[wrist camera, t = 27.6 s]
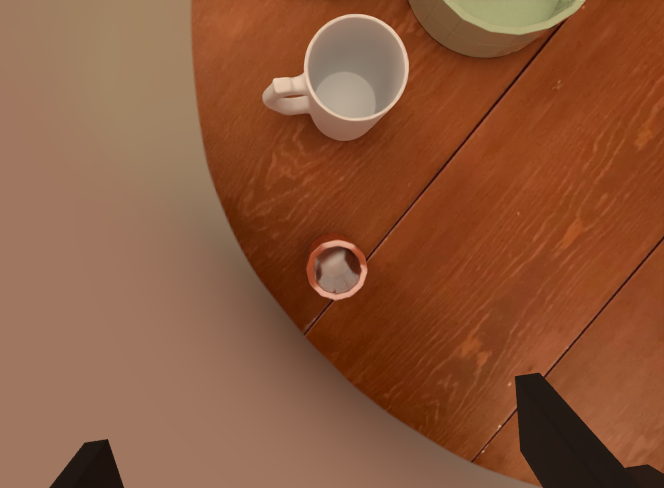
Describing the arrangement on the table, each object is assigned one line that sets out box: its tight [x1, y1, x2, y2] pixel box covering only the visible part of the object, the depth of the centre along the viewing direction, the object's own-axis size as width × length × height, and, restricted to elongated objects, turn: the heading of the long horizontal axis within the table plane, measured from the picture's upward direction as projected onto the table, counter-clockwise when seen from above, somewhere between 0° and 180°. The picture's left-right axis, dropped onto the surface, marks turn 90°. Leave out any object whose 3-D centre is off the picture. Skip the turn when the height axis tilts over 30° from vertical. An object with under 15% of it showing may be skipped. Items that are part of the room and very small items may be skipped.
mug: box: [262, 14, 409, 141], centre depth 35 cm, size 10×7×12 cm, turn 99°
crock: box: [306, 232, 368, 300], centre depth 38 cm, size 5×5×8 cm
